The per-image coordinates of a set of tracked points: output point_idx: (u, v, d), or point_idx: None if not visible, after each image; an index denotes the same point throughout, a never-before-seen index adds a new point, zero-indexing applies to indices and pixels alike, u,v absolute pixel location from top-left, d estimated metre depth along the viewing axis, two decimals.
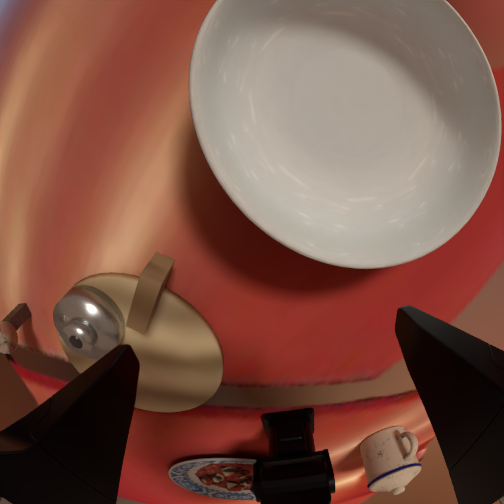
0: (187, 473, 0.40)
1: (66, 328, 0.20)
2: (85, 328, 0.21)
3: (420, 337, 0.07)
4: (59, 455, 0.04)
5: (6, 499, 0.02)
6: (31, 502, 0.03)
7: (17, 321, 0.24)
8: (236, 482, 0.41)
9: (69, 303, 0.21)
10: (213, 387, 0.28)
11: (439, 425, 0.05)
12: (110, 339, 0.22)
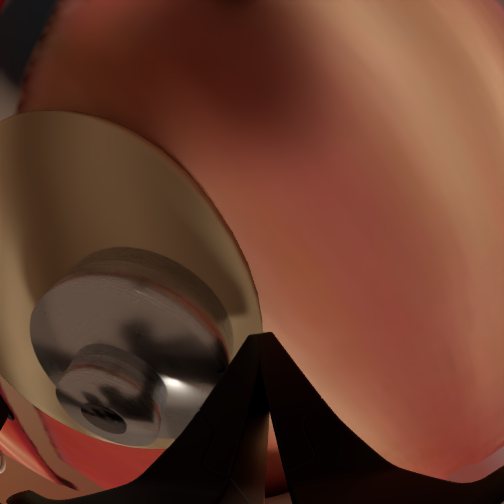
0: None
1: (151, 426, 0.06)
2: None
3: None
4: (240, 482, 0.04)
5: None
6: None
7: None
8: None
9: None
10: (30, 400, 0.13)
11: None
12: None
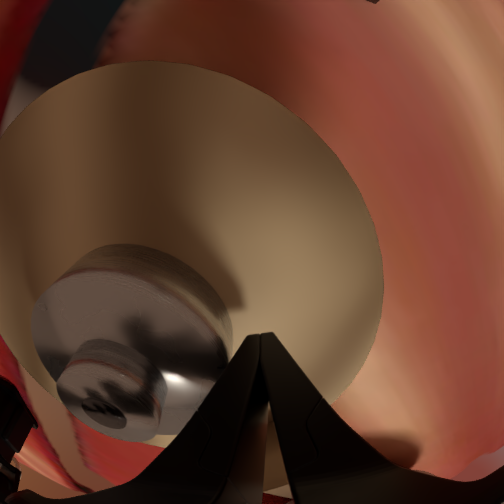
0: None
1: (151, 421, 0.06)
2: None
3: (262, 370, 0.07)
4: (238, 483, 0.04)
5: None
6: None
7: None
8: None
9: None
10: None
11: None
12: None
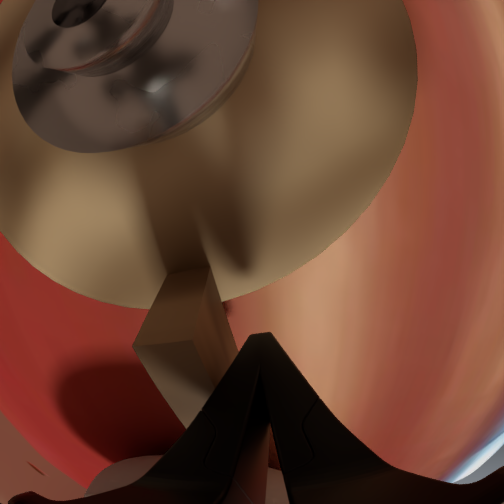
0: None
1: (133, 11, 0.03)
2: (80, 71, 0.04)
3: None
4: (243, 483, 0.04)
5: None
6: None
7: None
8: None
9: (198, 80, 0.05)
10: None
11: None
12: (29, 92, 0.05)
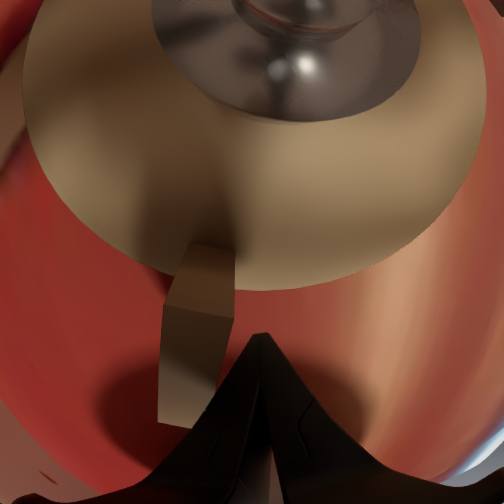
0: None
1: (354, 16, 0.04)
2: (262, 20, 0.04)
3: None
4: (247, 482, 0.04)
5: None
6: None
7: None
8: None
9: (345, 97, 0.06)
10: (38, 29, 0.06)
11: None
12: None
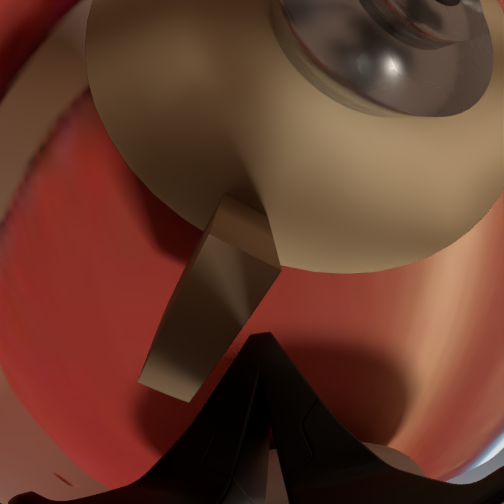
0: None
1: (460, 35, 0.03)
2: (384, 7, 0.04)
3: None
4: (243, 482, 0.04)
5: None
6: None
7: None
8: None
9: (425, 99, 0.05)
10: None
11: None
12: None
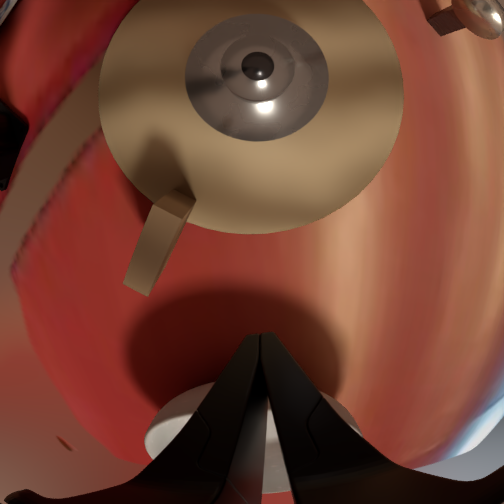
0: None
1: (267, 96, 0.11)
2: (230, 90, 0.11)
3: None
4: (237, 483, 0.04)
5: None
6: None
7: (452, 19, 0.10)
8: None
9: (263, 132, 0.13)
10: (119, 36, 0.12)
11: None
12: (198, 62, 0.11)
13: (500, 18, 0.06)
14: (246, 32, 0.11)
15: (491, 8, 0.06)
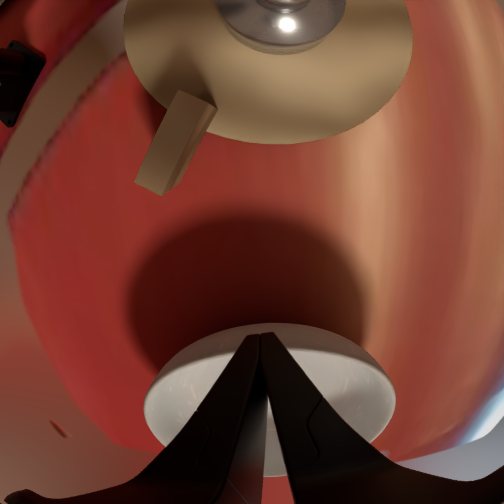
0: None
1: (294, 0, 0.09)
2: None
3: None
4: (237, 483, 0.04)
5: None
6: None
7: None
8: None
9: (288, 35, 0.11)
10: None
11: None
12: None
13: None
14: None
15: None
